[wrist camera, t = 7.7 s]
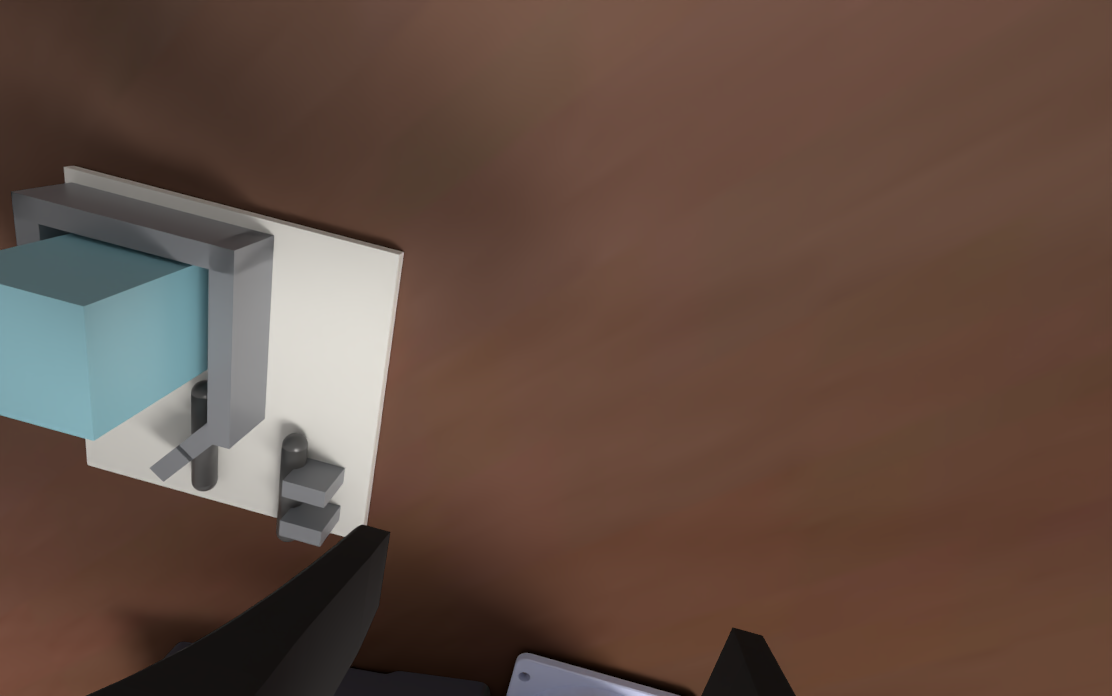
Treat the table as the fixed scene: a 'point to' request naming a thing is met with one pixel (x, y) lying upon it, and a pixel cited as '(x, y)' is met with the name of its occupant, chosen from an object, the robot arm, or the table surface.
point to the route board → (280, 384)
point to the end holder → (192, 239)
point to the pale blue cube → (96, 332)
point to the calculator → (397, 683)
